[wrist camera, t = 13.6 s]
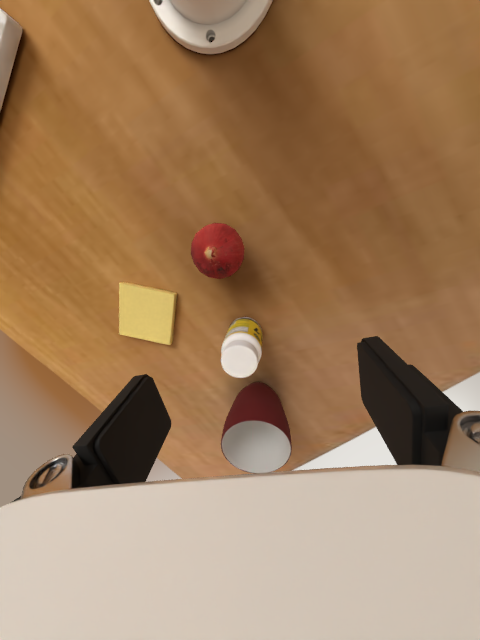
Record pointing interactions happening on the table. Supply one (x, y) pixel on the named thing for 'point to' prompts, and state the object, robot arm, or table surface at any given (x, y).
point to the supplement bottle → (242, 348)
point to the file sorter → (7, 49)
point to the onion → (217, 250)
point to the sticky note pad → (146, 313)
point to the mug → (256, 431)
